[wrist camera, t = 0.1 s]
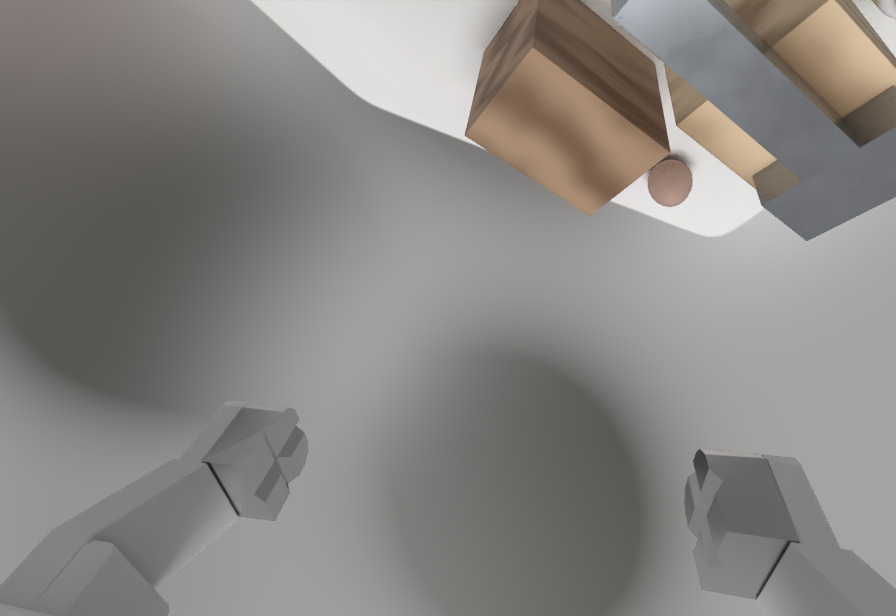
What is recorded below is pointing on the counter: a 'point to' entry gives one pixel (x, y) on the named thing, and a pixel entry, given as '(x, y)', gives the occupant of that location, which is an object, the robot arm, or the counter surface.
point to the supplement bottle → (887, 7)
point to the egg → (670, 183)
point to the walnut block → (568, 103)
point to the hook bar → (775, 113)
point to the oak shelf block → (809, 53)
